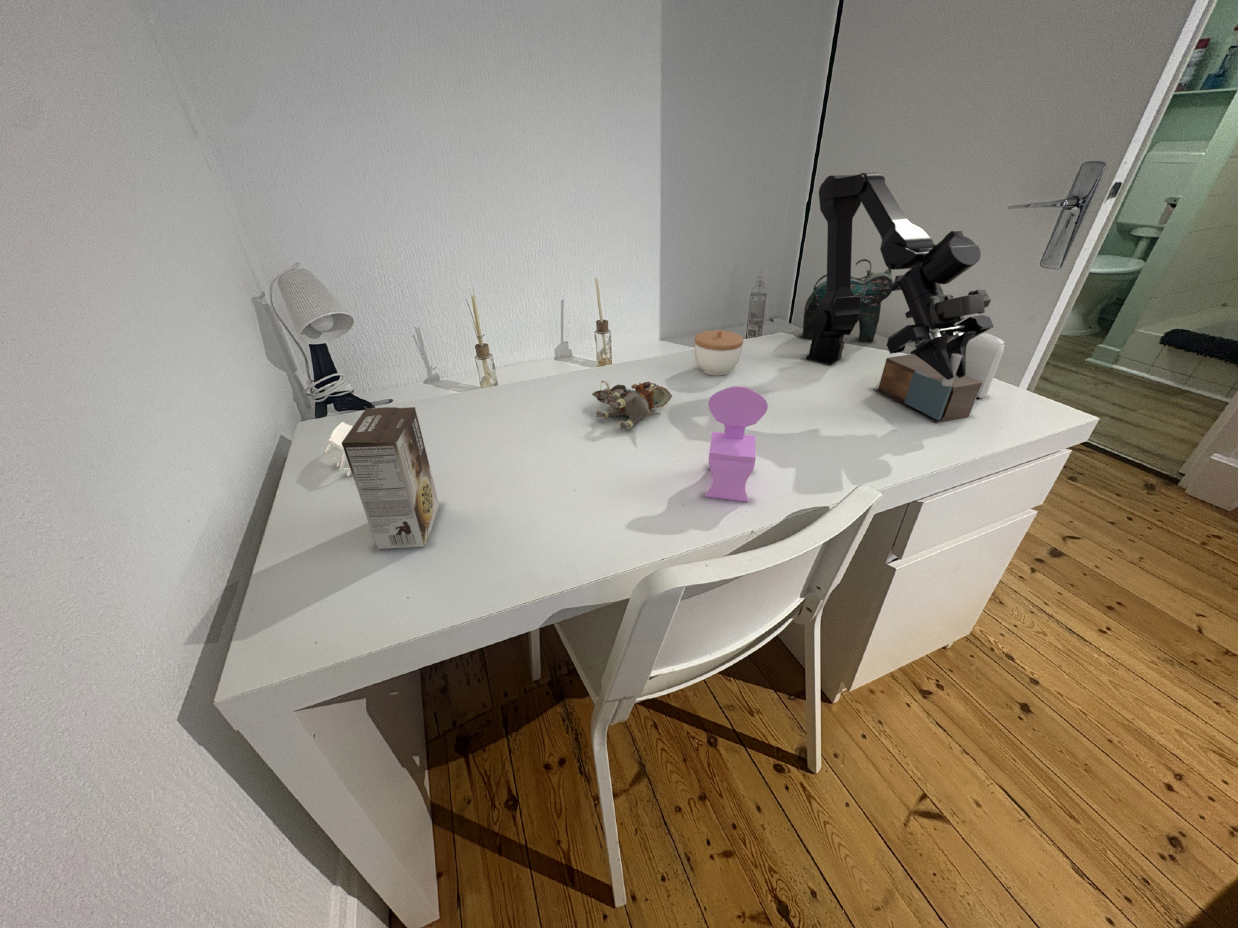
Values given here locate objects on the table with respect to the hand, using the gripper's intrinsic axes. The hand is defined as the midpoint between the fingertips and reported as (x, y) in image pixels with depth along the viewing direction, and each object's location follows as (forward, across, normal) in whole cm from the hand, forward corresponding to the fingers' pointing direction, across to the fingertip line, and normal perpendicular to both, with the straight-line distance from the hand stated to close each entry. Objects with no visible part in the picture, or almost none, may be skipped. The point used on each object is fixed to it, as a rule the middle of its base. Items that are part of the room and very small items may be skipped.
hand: (956, 377), depth 90 cm
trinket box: (-20, -26, +33) cm, 47 cm away
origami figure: (-11, -102, +24) cm, 105 cm away
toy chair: (+10, -47, +4) cm, 48 cm away
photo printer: (-1, +16, +14) cm, 21 cm away
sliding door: (+3, 0, +9) cm, 9 cm away
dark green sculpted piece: (-26, +16, +39) cm, 50 cm away
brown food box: (+5, -93, +8) cm, 93 cm away
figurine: (-11, -51, +24) cm, 57 cm away
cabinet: (0, +4, +12) cm, 13 cm away
